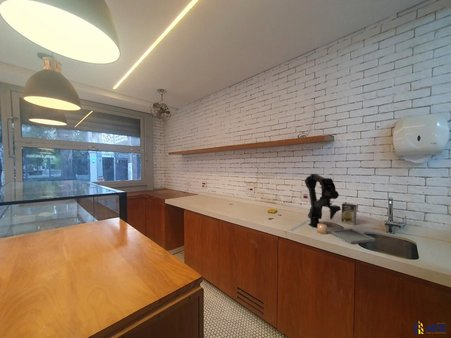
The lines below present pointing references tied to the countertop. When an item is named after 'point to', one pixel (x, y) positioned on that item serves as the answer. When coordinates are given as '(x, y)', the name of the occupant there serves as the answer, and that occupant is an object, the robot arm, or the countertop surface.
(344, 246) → the countertop surface
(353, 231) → the tray
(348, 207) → the coffee box
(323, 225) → the tan rounded cone
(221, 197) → the countertop surface
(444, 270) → the countertop surface
